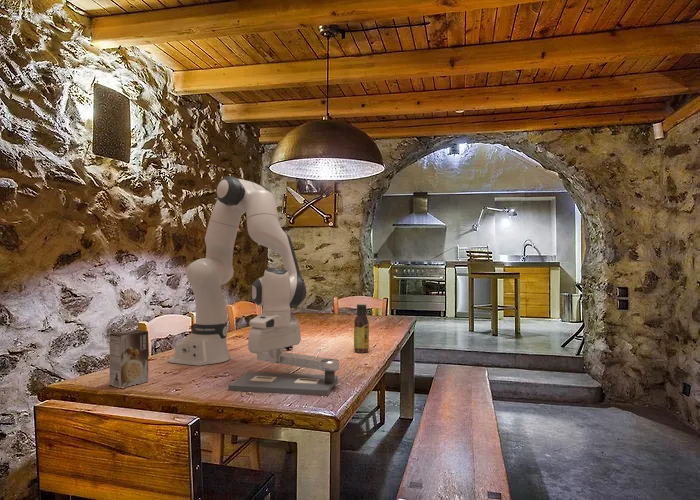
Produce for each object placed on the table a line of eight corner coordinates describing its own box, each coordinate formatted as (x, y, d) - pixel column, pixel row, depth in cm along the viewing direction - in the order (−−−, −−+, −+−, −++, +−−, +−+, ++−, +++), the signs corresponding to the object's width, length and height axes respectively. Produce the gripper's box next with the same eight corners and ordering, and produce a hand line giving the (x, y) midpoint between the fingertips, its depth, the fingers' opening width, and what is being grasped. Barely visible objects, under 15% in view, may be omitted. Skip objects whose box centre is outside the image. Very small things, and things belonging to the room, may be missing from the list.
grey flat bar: (256, 360, 145) (256, 352, 145) (267, 356, 150) (267, 349, 150) (332, 372, 130) (332, 363, 130) (342, 368, 135) (342, 360, 135)
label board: (228, 390, 130) (228, 373, 130) (248, 376, 146) (248, 360, 146) (329, 395, 126) (329, 378, 126) (339, 380, 141) (339, 364, 141)
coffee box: (136, 379, 142) (137, 329, 142) (148, 382, 138) (149, 331, 139) (108, 386, 134) (109, 333, 134) (120, 389, 131) (121, 335, 131)
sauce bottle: (367, 353, 181) (367, 305, 181) (352, 353, 182) (352, 305, 182) (369, 350, 187) (370, 303, 187) (355, 349, 188) (355, 303, 189)
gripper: (291, 315, 150) (290, 355, 150) (245, 321, 133) (244, 367, 133) (305, 316, 146) (304, 358, 146) (259, 323, 130) (259, 370, 129)
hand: (275, 362), depth 139 cm, fingers closed
